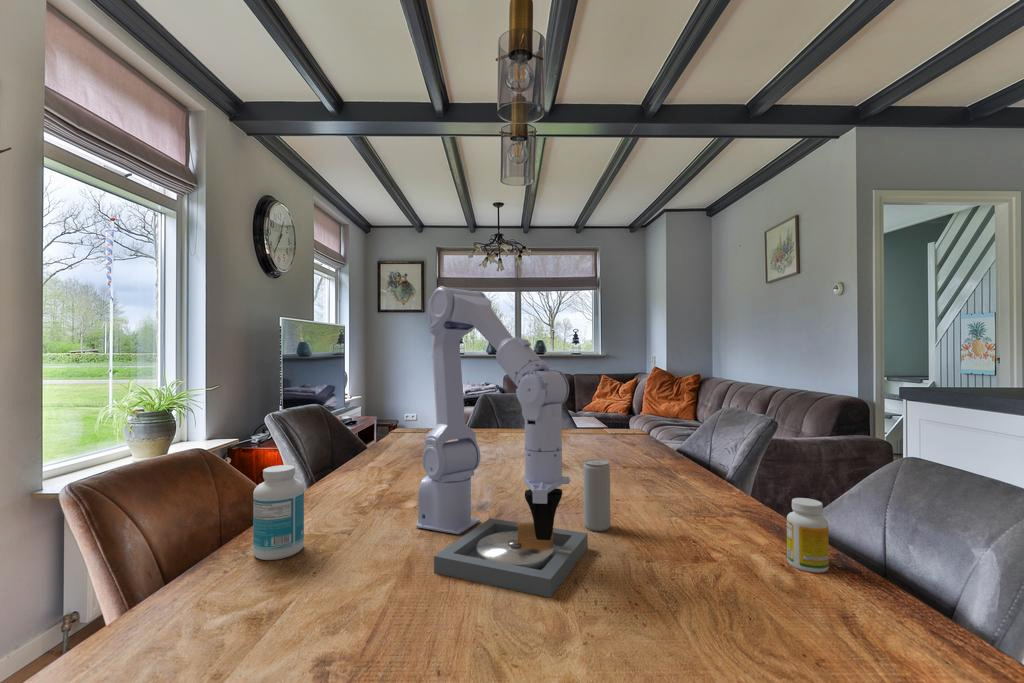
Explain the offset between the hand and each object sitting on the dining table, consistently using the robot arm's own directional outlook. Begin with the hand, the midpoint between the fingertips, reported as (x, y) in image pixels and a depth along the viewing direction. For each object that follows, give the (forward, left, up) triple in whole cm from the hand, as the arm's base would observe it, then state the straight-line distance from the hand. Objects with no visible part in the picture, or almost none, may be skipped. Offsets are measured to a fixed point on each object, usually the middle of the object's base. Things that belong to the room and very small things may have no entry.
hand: (543, 538), depth 74 cm
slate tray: (-5, -1, -4) cm, 6 cm away
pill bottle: (-41, -14, -4) cm, 43 cm away
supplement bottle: (+36, +15, -4) cm, 40 cm away
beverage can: (+3, +18, -4) cm, 19 cm away
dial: (-5, -1, -4) cm, 6 cm away
